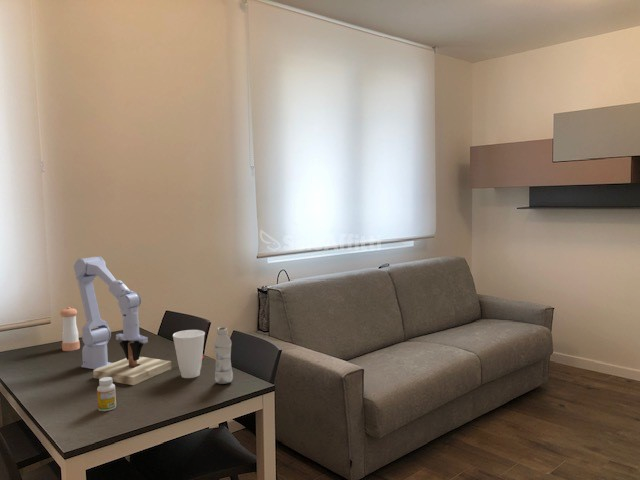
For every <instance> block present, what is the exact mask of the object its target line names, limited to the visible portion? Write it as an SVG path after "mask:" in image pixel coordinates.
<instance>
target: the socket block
mask: <svg viewBox="0 0 640 480" xmlns="http://www.w3.org/2000/svg"><path fill="white" fill-rule="evenodd" d="M111 363H112V364H109V365H106V366H103V367H101V368H98V369H92V370H93V371H92V372H93V378H94V379H98V380H99V379H101V378H104V377H112V380H113V382H114V383H119V384H125V385H130V386H135V385H138V384H140V383H142V382H145V381H146V380H149V379H151V378H153V377H156V376H157V375H160V374H163V373H165V372H167V371H170V370H172V361H171V360H165V359H158V358H152V357H146V356H141V355H140V356H139V360H137V367H135V368H129V360H127V359H126V357H125V358H123V359H120V360H118V361H115V362H111ZM113 382H112V383H113Z"/></svg>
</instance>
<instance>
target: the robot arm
mask: <svg viewBox="0 0 640 480" xmlns="http://www.w3.org/2000/svg"><path fill="white" fill-rule="evenodd" d="M106 265H107V264H106V261H105V259H104V258H103V257H102V256H100V255H95V256H91V257H90V256H89V257H84V258H77V259H76V260H75V262H74V265H73V269H74V275H75V277H76V278H75V279H76V280H77V285H78V288H79V289H78V290H79V294H80V297H81V303H82V306H83V311H84V315H85V319H86V322H85V324H84V325H83V326H82V327H81V333H82V335H81V340H82V343H83V344H84V345H83V346H82V351H81V354H82V355H81V358H82V365H81V366H80V367H81V368H85V369H92V370H95V369H98V368H101V367H103V366H106V365H109V364H112V363H113V362H110V361H109V358H108V343H109V340H110V339H111V337H112V331H111V328H110V327H109V324H108V322H107V321H105V320H104V319H102V318H101V313H100V309H99V305H98V299H97V295H96V291H95V286H94V280H95V278H96V277H98V278H100V279H101V280H102V281H103V282H104V283H105V284H106V285H107V286H108V291H109V292H110V293H111V294H112V296H113V297H114V298H115V299H116V300H117V304H118V307H119V309H120V313H121V314H122V330H123V332H122V333H117V334H115V340H116V341H117V340H118V341H119V340H120V342H119V345H120V347H121V348H122V350H123V353H124V355H125V358H126V359H127V360H129V358H128V343H129V342H133V343H130V347H131V349H132V353H133V360H134V361H136V360H139V356H140V357H141V351H142V349H143V346H144V344H147V343H149V339H148V336H144V335H141V334H140V321H139V320H140V319H139V307H140V306H141V304H142V299H141V298H142V297H141V296H140V294H139V293H138V292H136V291H133V290H131V289H129V287H128V286H127V285H126V284H125V283H124V282H123V280H120V279H116V278H115V277H114V275H113V273H111V271H110V270H109V269H108V268H107V266H106ZM121 340H122V341H121Z"/></svg>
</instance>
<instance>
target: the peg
mask: <svg viewBox="0 0 640 480" xmlns="http://www.w3.org/2000/svg"><path fill="white" fill-rule="evenodd" d="M130 343H133V342H129V343H128V358H129V368H135V367H137V360H136V361H134V360H133V353H132V349H131V347H130Z"/></svg>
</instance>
